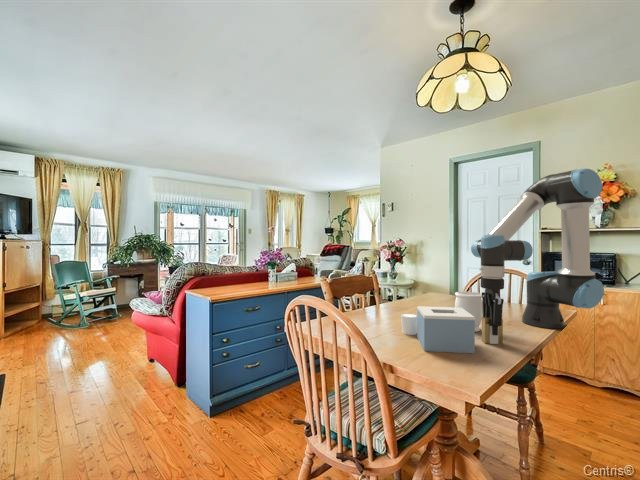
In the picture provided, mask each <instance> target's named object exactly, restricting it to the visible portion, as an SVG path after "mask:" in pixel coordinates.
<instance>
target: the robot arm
mask: <svg viewBox="0 0 640 480" xmlns="http://www.w3.org/2000/svg"><path fill="white" fill-rule="evenodd" d="M602 192H603V181H602V179H601V177H600V176H599V174H598V173H597V172H596V171H595V170H593V169H591V168H579V169H577V168H576V169H573V170H568V171H564V172H563V171H562V172H558V173H553V174H549V175H545V176H543V177H542V178H540V179H538V180H537V181H535V182H534V183H532V184H531V185H530V186H529V187H528V188H526V189H525V191H524V192H523V193H521V195H520V197H519V201H518V202H517V203H516V204H514V206H513V207H511V209H510V210H509V211H508V212H507V213H506V214H505V215H504V216H503V217H502V219H501V220H500V221H499V222H498V223H497V224H496V225H495V226H494V227H493V228H492V229H491V230H490V232H489V233H487V234H484V235H482V236H481V239H477V240H474V241H473V242H472V244H471V246H470V250H471V254H472V255H473V256H474V257H476V258H480V268H479V271H480V276H481V277H480V287H481V288H482V289H484V292H481V294H482V298H481V299H482V303H483V314H482V317H490V319H491V324H489V343H490V344H489V345H499V344H498V326H502V319H503V306H504V302H505V301H504V298H501V295H500V294H501V293H500V290H504V289H505V279H504V278H505V262H507V261H509V262H510V261H513V262H514V261H515V262H516V261H518V262H521V261H526V260H528V259H530V258H532V255H533V253H534V252H533V251H534V249H533V246H532V244H531V243H530V242H529V241H526V240H521V239H519V240H510V239H511V238H512V237H513V236H514V235H515V234H516V233H518V231H519V230H520V229H521V227H522V226H523V225H525V224H526V223H527V221H528V220H529V219H530V218H531V217H532V216H533V215H534V214H535V212H537V211H538V210H541V209H543V208H544V207H545V206H546V205H547V204H550V203H551V204H552V203H555V205H556V207H557V208H559V209H560V217H561V218H560V219H561V226H560V227H561V230H560V231H561V269H559V270H558V271H537V272H536V271H533V272H529V273H528V274H527V275H526V306H525V309H524V311H523V312H522V316H521V317H522V318H521V322H523V323H524V324H526V325H530V326H532V327H537V328H542V329H543V328H545V329H563V328H564V327H565V321H564V320H565V319H564V318H563V315H562V311H561V308H560V304H561V305H564V306H571V307H575V308H577V309H579V308H580V309H589V310H590V309H593V308H595V307H597V305H599V304H600V303H601V301H602V300H603V298H604V294H605V287H604V285H603V283H602V281H601V280H599V279H596V273H595V272H594V271H592V270H591V258H590V257H591V254H590V253H591V251H590V249H591V248H590V243H591V242H590V208H591V206H594V204H595V198H597V197H599V196H601V193H602Z"/></svg>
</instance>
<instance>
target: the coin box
mask: <svg viewBox="0 0 640 480" xmlns="http://www.w3.org/2000/svg"><path fill="white" fill-rule="evenodd" d="M416 309H417V310H416V312H417V313H416V315H417V334H416V338H417V340H418V342H419V344H420V346H421V348H422V349H423V351H424V352H439V353H456V354H457V353H459V354H475V353H476V352H475V349H476V348H475V347H476V345H475V344H476V343H475V341H476V338H475V336H476V335H475V334H476V332H475V317H474V316H472V315H471V314H470V313H468V312H467V311H466V310H464V309H463V308H459V307H455V306H454V307H453V306H452V307H450V306H424V305H423V306H419V305H418V306H417V307H416Z"/></svg>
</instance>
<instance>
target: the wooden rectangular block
mask: <svg viewBox="0 0 640 480" xmlns="http://www.w3.org/2000/svg"><path fill="white" fill-rule="evenodd" d="M489 324H491V319H490V317H483V316H482V320H481V342H482V343H483V344H485V345H491V344H490V343H489ZM503 331H504V320H503V318H502V326H498V344H497V345H501V346H502V345H503V344H504V337H503V335H504V332H503Z"/></svg>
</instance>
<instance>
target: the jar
mask: <svg viewBox="0 0 640 480" xmlns="http://www.w3.org/2000/svg"><path fill="white" fill-rule="evenodd" d="M454 295H455V296H456V297H455V301H454V307H459V308H463V309H464V310H466V311H467V312H468V313H470V314H471V315H472V316H474V317H475V333H476V332H479V331H481V327H479V326H480V325H481V324H482V317H483V303H482V292H476V291H475V292H474V291H473V292H472V291H456V292H454Z"/></svg>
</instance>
